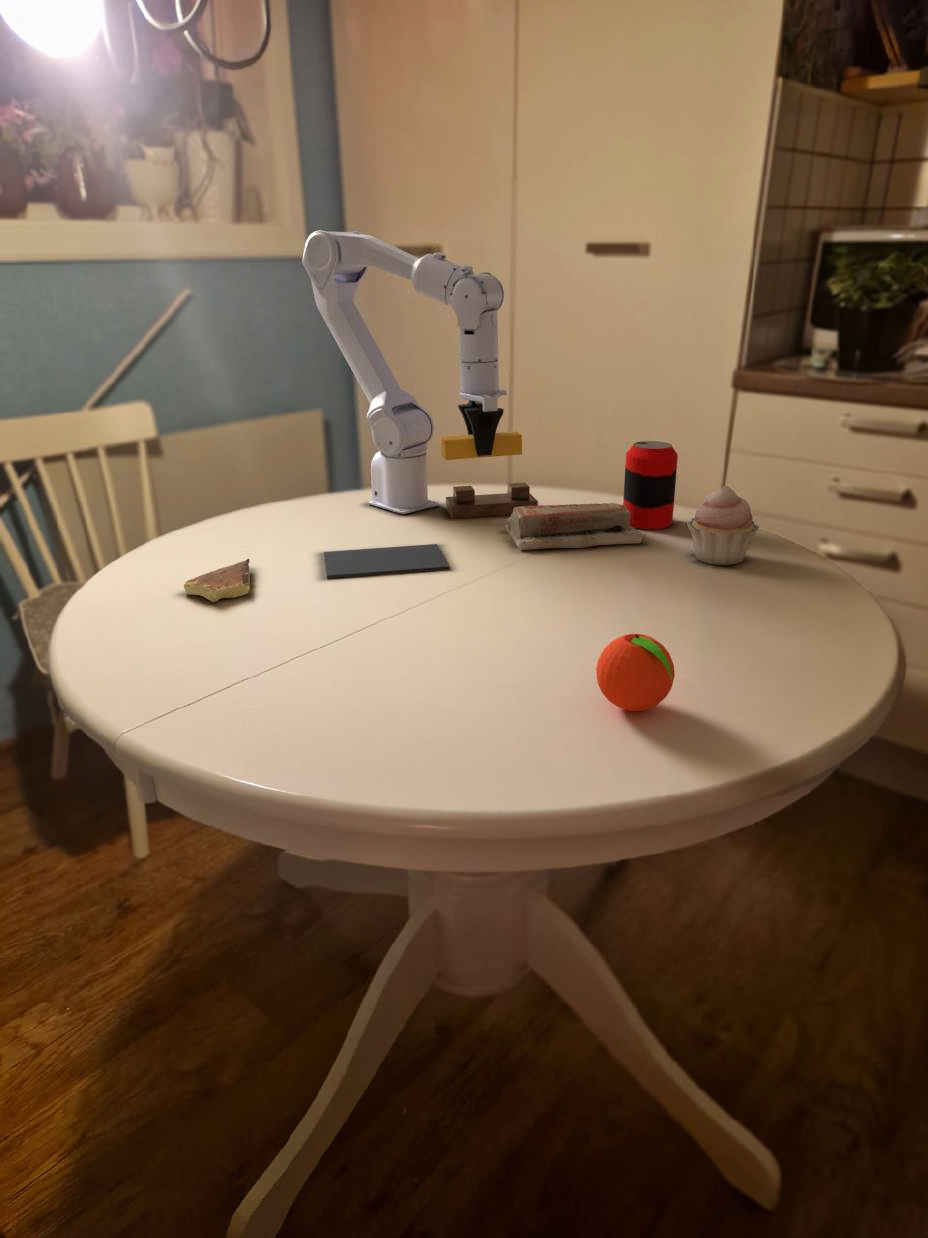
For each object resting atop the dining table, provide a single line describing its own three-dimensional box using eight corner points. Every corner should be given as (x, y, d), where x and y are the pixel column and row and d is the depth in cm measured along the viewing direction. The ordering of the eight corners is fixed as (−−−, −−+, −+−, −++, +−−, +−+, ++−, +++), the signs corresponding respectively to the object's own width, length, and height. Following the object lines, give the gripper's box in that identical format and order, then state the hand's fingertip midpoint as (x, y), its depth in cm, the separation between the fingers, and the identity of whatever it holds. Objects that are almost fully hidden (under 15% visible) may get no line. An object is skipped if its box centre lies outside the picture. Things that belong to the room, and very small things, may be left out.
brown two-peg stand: (452, 518, 136) (451, 493, 135) (445, 508, 142) (445, 484, 140) (537, 512, 139) (538, 488, 137) (528, 503, 144) (528, 479, 143)
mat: (326, 578, 112) (326, 575, 112) (324, 554, 121) (323, 551, 121) (448, 569, 114) (448, 566, 114) (437, 546, 123) (437, 543, 123)
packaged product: (519, 518, 118) (505, 500, 128) (518, 552, 120) (505, 532, 129) (645, 511, 121) (622, 494, 130) (643, 544, 123) (620, 525, 132)
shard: (249, 569, 115) (248, 556, 115) (289, 580, 111) (288, 566, 111) (182, 593, 107) (180, 579, 107) (223, 606, 103) (221, 591, 103)
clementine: (696, 716, 77) (704, 643, 74) (639, 738, 74) (645, 663, 71) (634, 682, 83) (639, 614, 81) (578, 701, 80) (581, 631, 77)
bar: (445, 460, 131) (444, 440, 130) (441, 456, 134) (440, 436, 133) (522, 454, 133) (522, 434, 132) (516, 450, 136) (516, 431, 135)
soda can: (640, 513, 138) (644, 437, 133) (681, 522, 133) (688, 444, 128) (612, 523, 133) (616, 445, 128) (654, 533, 128) (660, 452, 123)
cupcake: (753, 550, 120) (762, 479, 116) (756, 572, 111) (765, 496, 108) (684, 545, 122) (690, 475, 118) (682, 567, 114) (688, 492, 110)
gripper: (517, 363, 122) (518, 459, 127) (494, 355, 135) (496, 442, 140) (468, 366, 121) (471, 463, 126) (450, 357, 134) (453, 445, 139)
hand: (481, 452), depth 133 cm, fingers closed on bar, 3 cm apart
